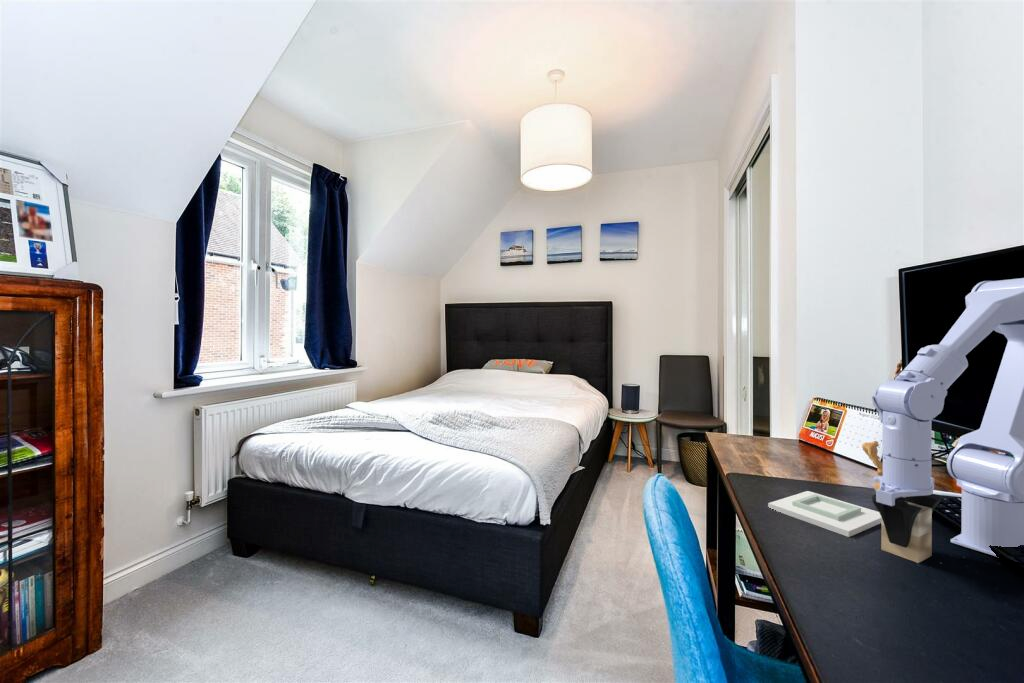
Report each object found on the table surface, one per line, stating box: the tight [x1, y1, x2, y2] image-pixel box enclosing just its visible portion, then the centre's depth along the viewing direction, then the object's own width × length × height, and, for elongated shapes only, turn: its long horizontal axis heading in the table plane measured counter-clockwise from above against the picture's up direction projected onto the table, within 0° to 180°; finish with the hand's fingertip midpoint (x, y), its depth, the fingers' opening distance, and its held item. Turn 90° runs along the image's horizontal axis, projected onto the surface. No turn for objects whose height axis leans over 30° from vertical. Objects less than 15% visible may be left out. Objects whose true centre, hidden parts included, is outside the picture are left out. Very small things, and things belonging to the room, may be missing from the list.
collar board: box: [767, 490, 881, 538], centre depth 83 cm, size 14×14×2 cm
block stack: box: [880, 501, 933, 564], centre depth 68 cm, size 5×5×8 cm
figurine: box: [861, 440, 883, 492], centre depth 90 cm, size 8×6×12 cm
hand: (906, 540), depth 68 cm, fingers closed on block stack, 5 cm apart
